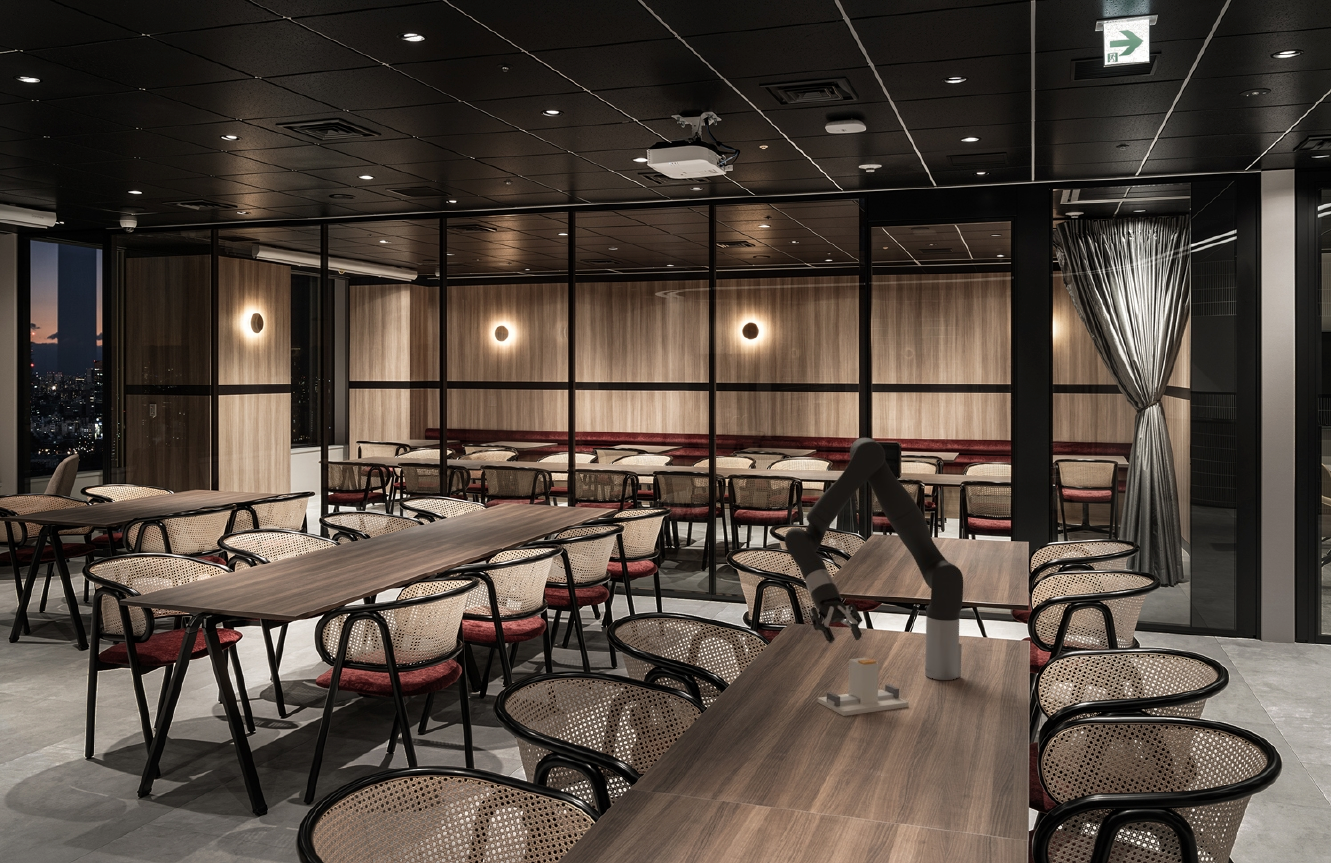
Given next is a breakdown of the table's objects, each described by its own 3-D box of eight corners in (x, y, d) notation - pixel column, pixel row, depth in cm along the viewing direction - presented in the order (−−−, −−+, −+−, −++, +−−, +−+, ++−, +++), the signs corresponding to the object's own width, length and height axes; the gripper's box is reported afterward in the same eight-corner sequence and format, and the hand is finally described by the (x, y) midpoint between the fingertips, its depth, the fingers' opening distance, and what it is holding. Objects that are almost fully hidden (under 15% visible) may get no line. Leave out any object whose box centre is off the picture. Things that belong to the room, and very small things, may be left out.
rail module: (864, 695, 268) (864, 655, 268) (877, 701, 263) (878, 661, 262) (848, 697, 266) (849, 657, 266) (861, 704, 261) (862, 663, 260)
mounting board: (880, 693, 274) (881, 680, 274) (908, 706, 263) (908, 692, 263) (817, 702, 266) (818, 688, 266) (843, 715, 255) (844, 701, 255)
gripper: (806, 583, 276) (829, 634, 266) (849, 580, 282) (873, 630, 272) (795, 599, 281) (817, 650, 271) (838, 595, 287) (861, 644, 277)
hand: (845, 640), depth 271 cm, fingers open, 8 cm apart
